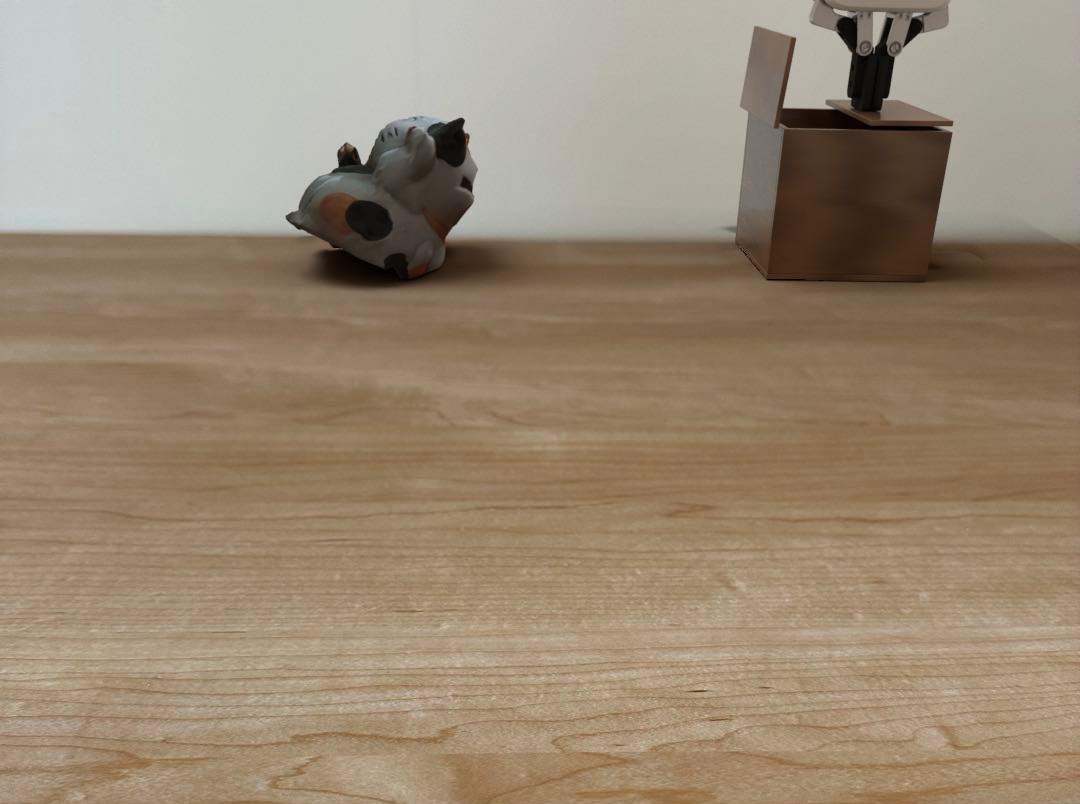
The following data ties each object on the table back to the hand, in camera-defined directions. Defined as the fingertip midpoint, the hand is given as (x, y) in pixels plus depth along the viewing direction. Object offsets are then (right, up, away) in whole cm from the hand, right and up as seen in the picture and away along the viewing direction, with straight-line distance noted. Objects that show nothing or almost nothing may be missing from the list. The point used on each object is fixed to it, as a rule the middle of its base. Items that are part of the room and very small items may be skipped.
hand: (865, 108), depth 91 cm
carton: (-2, -11, +6) cm, 12 cm away
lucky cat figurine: (-39, -12, +2) cm, 41 cm away
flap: (+2, 0, 0) cm, 2 cm away
